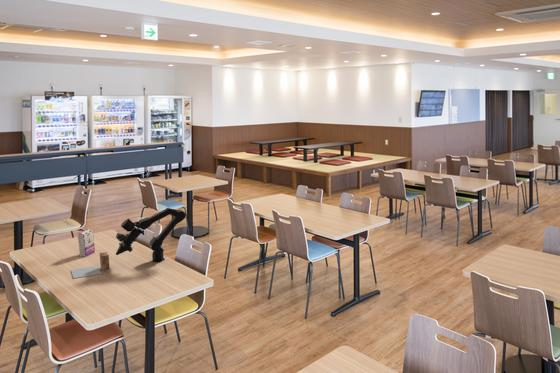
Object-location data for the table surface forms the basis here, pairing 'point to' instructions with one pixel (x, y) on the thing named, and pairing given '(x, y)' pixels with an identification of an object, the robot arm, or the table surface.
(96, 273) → the slate board
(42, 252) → the table surface
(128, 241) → the robot arm
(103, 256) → the walnut block
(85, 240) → the candy bar box
